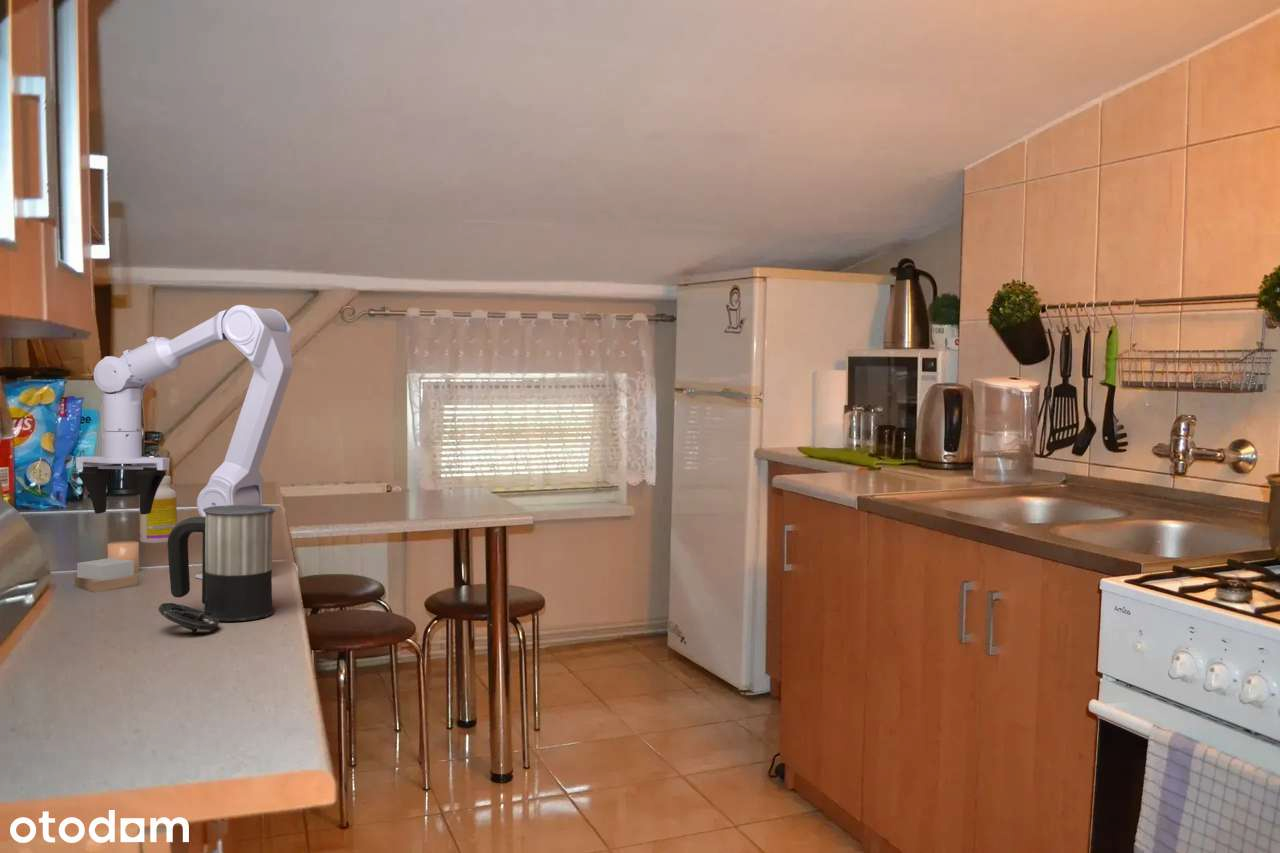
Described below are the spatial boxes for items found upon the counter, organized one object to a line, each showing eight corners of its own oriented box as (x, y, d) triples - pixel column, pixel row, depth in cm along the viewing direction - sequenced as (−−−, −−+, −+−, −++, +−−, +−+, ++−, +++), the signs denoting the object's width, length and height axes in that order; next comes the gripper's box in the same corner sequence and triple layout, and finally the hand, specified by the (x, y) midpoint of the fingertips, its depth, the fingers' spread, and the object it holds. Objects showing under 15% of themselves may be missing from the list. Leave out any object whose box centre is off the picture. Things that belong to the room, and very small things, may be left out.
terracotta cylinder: (144, 573, 170) (144, 542, 170) (116, 577, 166) (115, 546, 166) (130, 569, 173) (130, 540, 172) (102, 573, 169) (102, 543, 169)
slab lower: (137, 589, 159) (137, 575, 159) (94, 596, 154) (94, 582, 154) (117, 584, 163) (117, 570, 163) (74, 590, 158) (74, 576, 158)
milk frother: (274, 606, 147) (274, 502, 146) (277, 631, 132) (277, 517, 131) (165, 613, 142) (164, 506, 141) (156, 640, 127) (154, 521, 126)
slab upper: (133, 575, 160) (133, 561, 159) (101, 580, 155) (101, 566, 155) (109, 571, 162) (109, 558, 162) (77, 577, 157) (77, 563, 157)
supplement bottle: (184, 541, 203) (183, 476, 202) (152, 545, 197) (152, 478, 196) (163, 538, 206) (163, 474, 206) (132, 542, 201) (131, 476, 200)
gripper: (177, 430, 172) (178, 510, 173) (92, 429, 173) (93, 509, 173) (155, 432, 165) (156, 516, 166) (67, 431, 166) (68, 514, 166)
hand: (123, 513), depth 169 cm, fingers open, 7 cm apart
